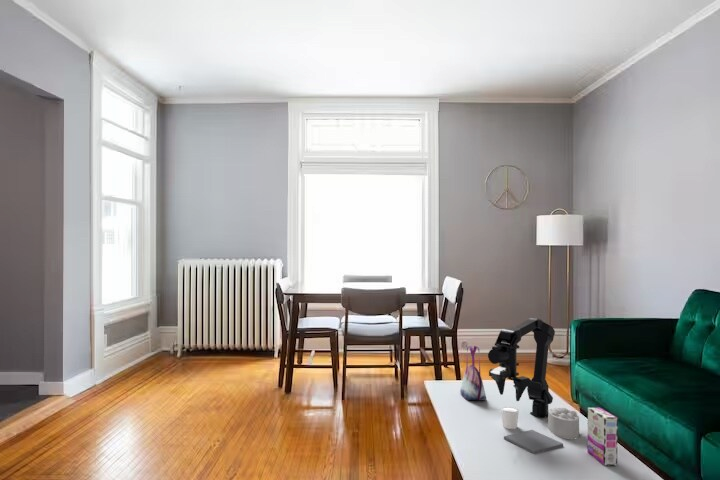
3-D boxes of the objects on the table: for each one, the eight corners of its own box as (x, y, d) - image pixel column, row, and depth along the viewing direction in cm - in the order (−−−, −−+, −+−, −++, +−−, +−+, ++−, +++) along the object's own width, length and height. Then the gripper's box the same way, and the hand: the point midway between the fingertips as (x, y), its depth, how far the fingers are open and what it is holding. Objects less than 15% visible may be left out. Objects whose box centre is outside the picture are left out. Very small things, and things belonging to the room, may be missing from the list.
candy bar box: (618, 466, 164) (618, 417, 165) (604, 466, 164) (604, 417, 164) (599, 451, 176) (600, 406, 176) (586, 452, 175) (586, 406, 175)
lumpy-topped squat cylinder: (570, 426, 200) (570, 405, 200) (585, 439, 187) (585, 417, 187) (545, 426, 200) (545, 405, 200) (558, 439, 187) (558, 416, 187)
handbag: (456, 390, 248) (456, 341, 248) (475, 390, 249) (475, 341, 249) (470, 404, 227) (470, 351, 227) (490, 403, 228) (491, 350, 228)
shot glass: (519, 430, 195) (519, 413, 195) (501, 428, 197) (502, 411, 197) (517, 424, 202) (517, 407, 202) (500, 422, 204) (500, 406, 204)
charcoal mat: (532, 432, 194) (532, 429, 194) (563, 446, 180) (563, 443, 180) (503, 438, 187) (503, 436, 187) (534, 453, 173) (534, 451, 173)
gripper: (478, 357, 204) (479, 394, 205) (511, 367, 188) (511, 407, 188) (499, 354, 210) (499, 390, 210) (532, 364, 193) (532, 403, 193)
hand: (509, 397), depth 200 cm, fingers open, 9 cm apart
